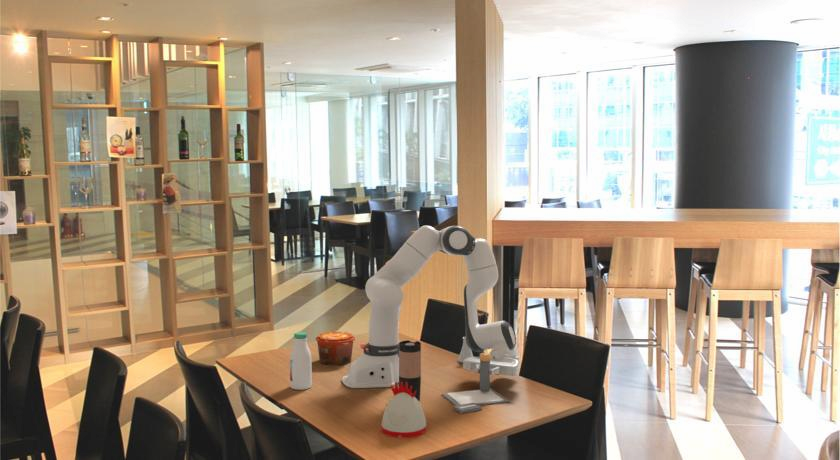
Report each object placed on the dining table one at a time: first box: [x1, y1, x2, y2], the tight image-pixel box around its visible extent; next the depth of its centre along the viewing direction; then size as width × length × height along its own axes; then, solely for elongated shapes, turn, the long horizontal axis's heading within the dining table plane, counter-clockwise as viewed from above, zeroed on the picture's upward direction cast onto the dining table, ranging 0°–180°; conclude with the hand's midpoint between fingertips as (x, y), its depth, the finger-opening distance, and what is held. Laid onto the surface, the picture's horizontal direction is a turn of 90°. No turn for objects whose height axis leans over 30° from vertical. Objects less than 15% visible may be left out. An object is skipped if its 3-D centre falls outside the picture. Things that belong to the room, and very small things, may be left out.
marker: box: [479, 352, 491, 392], centre depth 271 cm, size 4×4×13 cm
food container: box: [315, 331, 356, 366], centre depth 314 cm, size 16×16×11 cm
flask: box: [457, 336, 474, 364], centre depth 315 cm, size 7×7×10 cm
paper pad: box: [441, 387, 510, 406], centre depth 267 cm, size 19×15×1 cm
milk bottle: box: [289, 331, 313, 391], centre depth 278 cm, size 8×8×20 cm
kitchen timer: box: [380, 382, 427, 439], centre depth 236 cm, size 14×14×15 cm
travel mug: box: [398, 340, 422, 401], centre depth 264 cm, size 8×8×20 cm
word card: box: [453, 403, 483, 414], centre depth 255 cm, size 8×5×1 cm, turn 119°
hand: (484, 371), depth 270 cm, fingers closed on marker, 4 cm apart
